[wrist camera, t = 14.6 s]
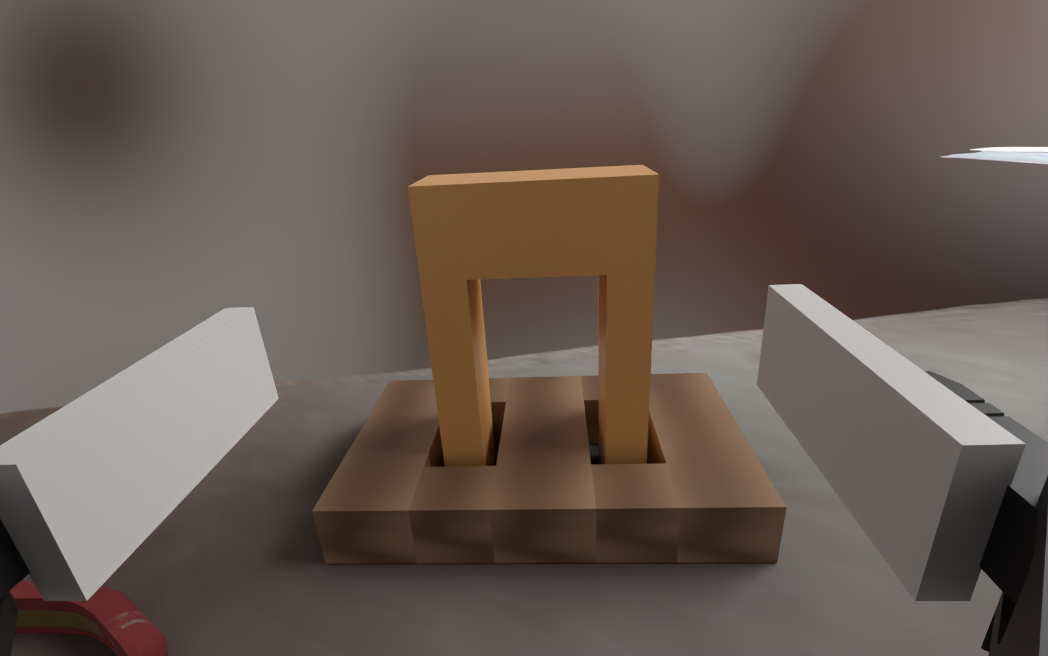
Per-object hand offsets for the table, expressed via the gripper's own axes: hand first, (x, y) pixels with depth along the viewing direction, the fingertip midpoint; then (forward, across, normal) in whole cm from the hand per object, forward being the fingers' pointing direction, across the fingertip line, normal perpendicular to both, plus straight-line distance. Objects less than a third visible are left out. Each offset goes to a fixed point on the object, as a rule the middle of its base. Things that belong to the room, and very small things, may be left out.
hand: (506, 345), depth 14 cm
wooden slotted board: (+11, 0, -13) cm, 17 cm away
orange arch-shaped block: (+11, 0, -13) cm, 17 cm away
